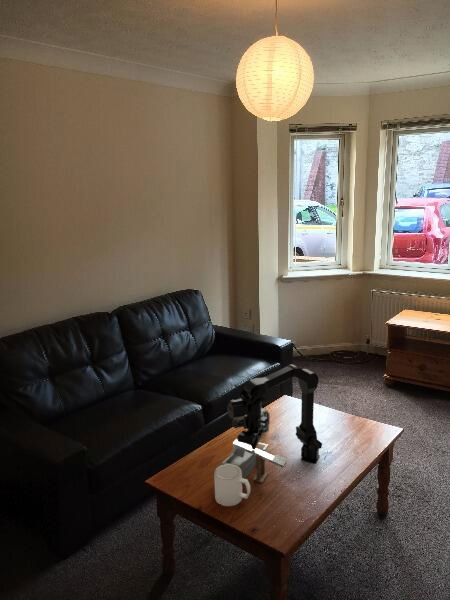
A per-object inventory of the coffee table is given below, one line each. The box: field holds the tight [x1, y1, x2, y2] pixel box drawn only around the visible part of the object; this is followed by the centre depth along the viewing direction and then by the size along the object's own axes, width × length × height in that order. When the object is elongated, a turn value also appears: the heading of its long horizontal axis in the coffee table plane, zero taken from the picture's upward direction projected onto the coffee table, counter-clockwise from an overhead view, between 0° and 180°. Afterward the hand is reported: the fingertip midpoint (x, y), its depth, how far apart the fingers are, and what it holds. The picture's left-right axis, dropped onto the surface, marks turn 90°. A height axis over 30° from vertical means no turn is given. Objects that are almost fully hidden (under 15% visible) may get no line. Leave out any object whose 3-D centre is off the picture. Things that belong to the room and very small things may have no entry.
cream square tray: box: [248, 441, 269, 454], centre depth 205 cm, size 10×10×4 cm
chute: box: [221, 451, 256, 479], centre depth 192 cm, size 8×18×8 cm, turn 153°
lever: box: [231, 439, 289, 469], centre depth 187 cm, size 22×5×6 cm, turn 64°
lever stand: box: [252, 449, 269, 484], centre depth 188 cm, size 4×6×11 cm, turn 153°
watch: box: [261, 407, 271, 434], centre depth 225 cm, size 6×8×11 cm
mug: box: [213, 464, 251, 507], centre depth 176 cm, size 14×10×11 cm
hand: (253, 448), depth 187 cm, fingers closed
